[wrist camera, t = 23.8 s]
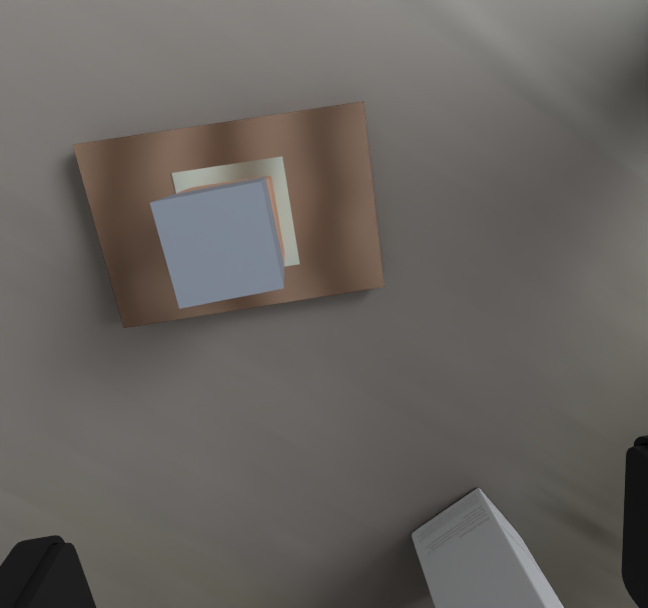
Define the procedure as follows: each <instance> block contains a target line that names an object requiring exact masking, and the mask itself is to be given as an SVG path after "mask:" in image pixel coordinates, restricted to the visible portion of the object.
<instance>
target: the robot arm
mask: <svg viewBox="0 0 648 608" xmlns="http://www.w3.org/2000/svg"><path fill="white" fill-rule="evenodd" d="M622 578H623V582H624V584H625V587H626V589H627V591H628V593H629V595H630V596H631V598H632V599H633V600H634V602H635V603H636V604H637V605H638V607H639V608H648V435H647V436H641V437H639V438H637V439H636V440H635V442H634V446H633V447H631V448H629V449H628V451H627V454H626V472H625V499H624V525H623V551H622ZM0 608H96V605H95V603H94V600H93V597H92V594H91V591H90V589H89V586H88V583H87V580H86V577H85V575H84V572H83V569H82V566H81V563H80V561H79V558H78V555H77V552H76V549H75V547H74V545H72V544H71V543H65V542H64V540H63V539H62V538H61V537H60V536H56V535H54V536H48V537H42V538H36V539H30V540H25V541H21V542H19V543H17V544H16V545H15V547H14V548H13V549H12V550H11V552H10V553H9V555H8V556H7V557H6V559H5V560H4V562H3V563H2V565H1V566H0Z"/></svg>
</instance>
